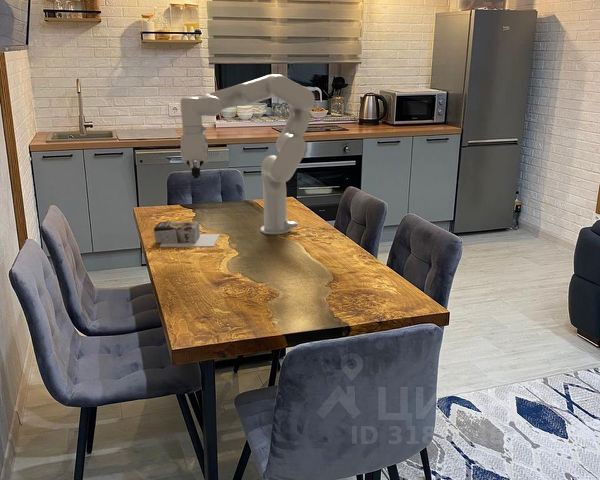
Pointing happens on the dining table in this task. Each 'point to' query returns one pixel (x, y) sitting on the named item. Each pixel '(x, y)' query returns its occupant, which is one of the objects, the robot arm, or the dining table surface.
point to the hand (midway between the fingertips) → (196, 177)
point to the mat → (202, 241)
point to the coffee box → (177, 232)
